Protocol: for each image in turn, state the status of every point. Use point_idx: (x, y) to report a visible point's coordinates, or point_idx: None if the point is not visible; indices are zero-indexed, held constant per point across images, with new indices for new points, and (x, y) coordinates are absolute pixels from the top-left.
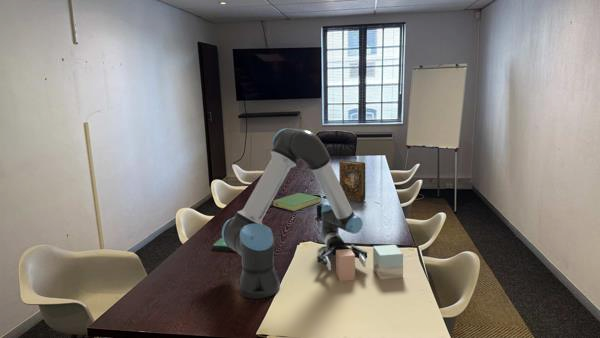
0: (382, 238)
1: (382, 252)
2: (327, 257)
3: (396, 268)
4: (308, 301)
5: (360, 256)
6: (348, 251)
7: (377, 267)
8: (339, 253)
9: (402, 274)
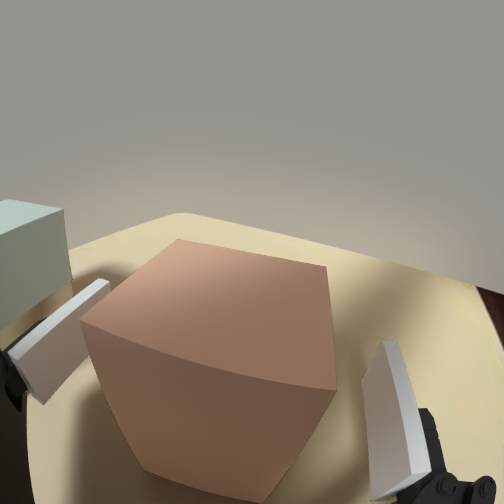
0: None
1: (21, 217)
2: (410, 444)
3: None
4: (421, 326)
5: (51, 336)
6: (168, 292)
7: None
8: (307, 302)
9: None
